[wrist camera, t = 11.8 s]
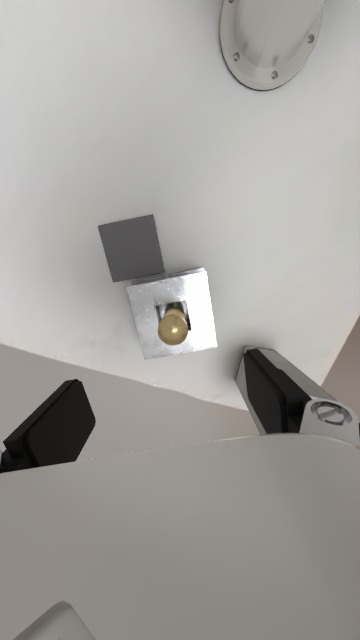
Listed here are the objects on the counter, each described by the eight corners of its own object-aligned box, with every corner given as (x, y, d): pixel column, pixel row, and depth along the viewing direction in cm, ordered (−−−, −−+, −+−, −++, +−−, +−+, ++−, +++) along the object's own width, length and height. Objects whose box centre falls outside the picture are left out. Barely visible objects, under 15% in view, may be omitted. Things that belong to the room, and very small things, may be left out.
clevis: (134, 281, 32) (121, 284, 25) (202, 268, 32) (209, 267, 25) (149, 344, 35) (142, 363, 28) (212, 333, 35) (221, 349, 28)
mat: (98, 226, 30) (97, 225, 30) (153, 215, 30) (152, 214, 29) (114, 282, 32) (113, 282, 32) (164, 272, 32) (164, 272, 32)
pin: (163, 301, 32) (154, 319, 20) (183, 298, 32) (185, 313, 20) (167, 320, 33) (160, 347, 21) (186, 317, 33) (190, 342, 21)
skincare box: (264, 386, 38) (321, 464, 23) (230, 380, 38) (265, 455, 22) (277, 348, 36) (351, 406, 20) (241, 341, 35) (289, 395, 20)
